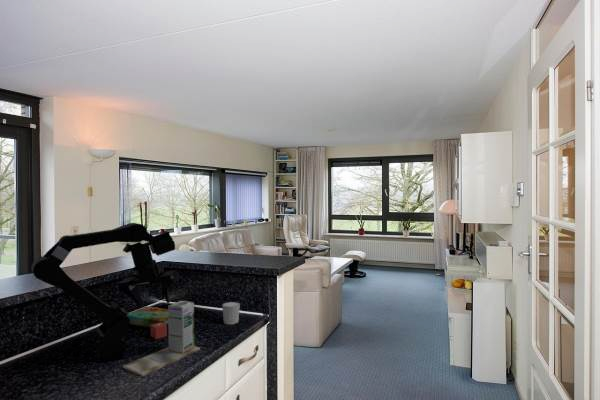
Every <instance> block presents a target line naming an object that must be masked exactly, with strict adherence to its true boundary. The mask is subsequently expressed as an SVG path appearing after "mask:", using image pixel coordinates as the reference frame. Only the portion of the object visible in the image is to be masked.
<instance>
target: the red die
mask: <svg viewBox="0 0 600 400" xmlns="http://www.w3.org/2000/svg"><path fill="white" fill-rule="evenodd" d="M167 327H168V324H167V325H166V324H164V323H162V322H160V323H156V324H152V325H151V328H150V337H151V338H152V339H154V340H158V339H162V338H165V337H166V338H167V337H168V328H167Z"/></svg>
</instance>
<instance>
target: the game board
mask: <svg viewBox="0 0 600 400" xmlns="http://www.w3.org/2000/svg"><path fill="white" fill-rule="evenodd" d="M199 350H201V347H200V346H199V347H198V346H196V345H194V346H193V347H191V348H190V349H188V350H186V351H185V352H184V353H181V352H175V351H171V350H169V346H167V347H165V348H162V349H160V350H159V351H156V352H153V353H151V354H149V355H145V356H143V357H142V358H139V359H136V360H134V361H131V362H129V363H127V364H124V365H123V366H122V368H123V369H124V370H127V371H129V372H132V373H134V374H136V375H139V376H141V377H145V376H146V375H149V374H152V373H153V372H155V371H157V370H159V369H162V368H163V367H166V366H168V365H170V364H172V363H174V362H177V361H178V360H182V359H183V358H185V357H187V356H189V355H192V354H194V353H196V352H198V351H199Z"/></svg>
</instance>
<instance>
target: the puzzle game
mask: <svg viewBox="0 0 600 400" xmlns="http://www.w3.org/2000/svg"><path fill="white" fill-rule="evenodd" d="M127 313H128V315H127V316H128V317H129V319H130V325H133V326H139V327H144V328H150V329H151V325H152V324H156V323H160V322H162V323H164V324H166V325H167V326H168V308H159V307H157V306H155V307H154V306H148V305H147V306H146V305H145V306H143V307H142V308H141V307H139V308H138V309H135V310H132V311H130V312H127Z"/></svg>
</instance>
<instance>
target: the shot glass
mask: <svg viewBox="0 0 600 400" xmlns="http://www.w3.org/2000/svg"><path fill="white" fill-rule="evenodd" d="M221 306H222V317H223V324H225V325H235V323H236V324H238V323H239V319H240V318H239V316H240V306H241V303H240V302H236V301H229V302H223V303H222V305H221Z"/></svg>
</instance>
